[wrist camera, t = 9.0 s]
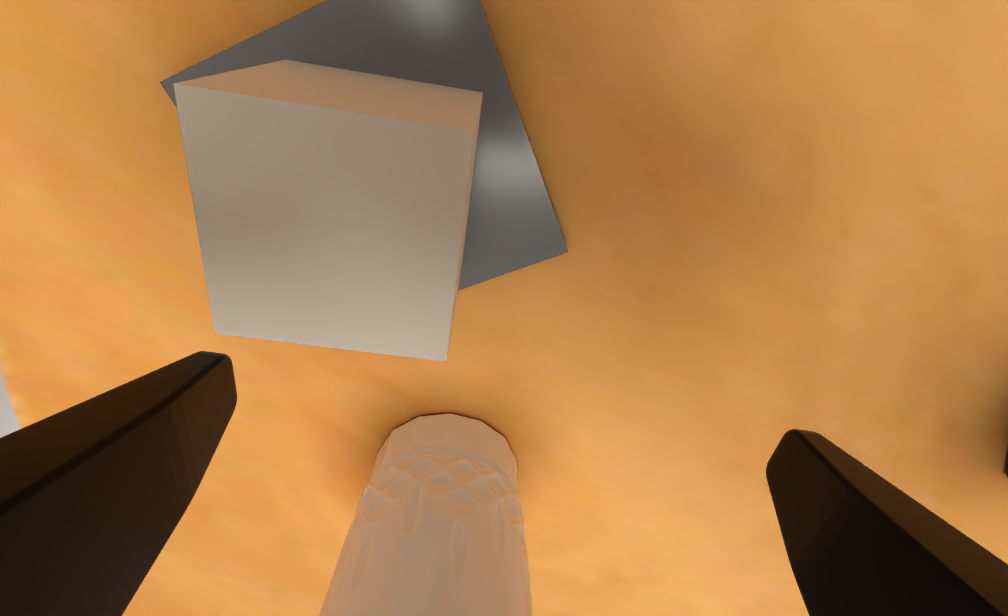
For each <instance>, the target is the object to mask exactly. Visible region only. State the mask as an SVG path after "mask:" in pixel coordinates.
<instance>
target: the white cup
mask: <svg viewBox="0 0 1008 616" xmlns="http://www.w3.org/2000/svg"><path fill="white" fill-rule="evenodd" d="M319 616H533V607H532V596H531V585H530V574H529V563H528V553H527V547H526V542H525V530H524V519H523V513H522V508H521V504H520V500H519V490H518V477H517V465H516V459H515V456H514V455H513V453H512V451H511V449H510V447H509V445H508V443H507V441H506V439H505V437H504V436H502V435H501V434H499V433H498V432H496V431H495V430H494V429H492V428H491V427H489V426H488V425H487V424H485V423H484V422H482V421H480V420H476V419H472V418H467V417H463V416H459V415H455V414H440V415H430V416H420V417H417V418H415V419H413V420H411V421H409V422H407V423H406V424H404V425H402V426H400V427H398V428H396V429H394V430H393V431H392V432H391V434H390V435H389V437H388V438H387V440H386V441H385V443H384V444H383V446H382V447H381V449H380V450H379V453H378V455H377V458H376V461H375V464H374V468H373V471H372V474H371V477H370V480H369V483H368V484H367V486H366V488H365V490H364V492H363V495H362V497H361V499H360V502H359V505H358V507H357V510H356V514H355V517H354V519H353V522H352V524H351V526H350V529H349V531H348V534H347V536H346V539H345V542H344V545H343V547H342V550H341V553H340V556H339V559H338V562H337V565H336V568H335V571H334V573H333V576H332V579H331V582H330V585H329V588H328V591H327V594H326V597H325V600H324V603H323V605H322V608H321V611H320V614H319Z"/></svg>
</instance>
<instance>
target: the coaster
mask: <svg viewBox="0 0 1008 616" xmlns="http://www.w3.org/2000/svg"><path fill="white" fill-rule="evenodd" d="M281 60H292V61H298V62H304V63H310V64H316V65H322V66H328V67H334V68H340V69H346V70H352V71H358V72H364V73H370V74H376V75H382V76H388V77H394V78H400V79H406V80H412V81H418V82H424V83H430V84H436V85H442V86H448V87H454V88H460V89H466V90H472V91H478V92H483V97H482V105H481V113H480V122H479V130H478V138H477V146H476V154H475V162H474V170H473V178H472V186H471V194H470V202H469V211H468V219H467V227H466V235H465V243H464V251H463V259H462V267H461V273H460V279H459V286H458V290H460V289H463V288H466V287H469V286H472V285H475V284H477V283H480V282H483V281H486V280H489V279H492V278H495V277H498V276H500V275H503V274H506V273H509V272H512V271H515V270H518V269H520V268H523V267H526V266H529V265H532V264H535V263H538V262H540V261H543V260H546V259H549V258H552V257H555V256H558V255H560V254H563V253H566V252H568V250H567V246H566V243H565V240H564V237H563V234H562V232H561V229H560V226H559V223H558V220H557V217H556V214H555V212H554V209H553V206H552V203H551V200H550V197H549V195H548V192H547V189H546V186H545V183H544V180H543V177H542V175H541V172H540V169H539V166H538V163H537V160H536V158H535V155H534V152H533V149H532V146H531V143H530V140H529V138H528V135H527V132H526V129H525V126H524V123H523V121H522V118H521V115H520V112H519V109H518V106H517V103H516V101H515V98H514V95H513V92H512V89H511V86H510V84H509V81H508V78H507V75H506V72H505V69H504V66H503V64H502V61H501V58H500V55H499V52H498V49H497V47H496V44H495V41H494V38H493V35H492V32H491V29H490V27H489V24H488V21H487V18H486V15H485V12H484V10H483V7H482V4H481V1H480V0H327V1H325V2H323V3H321V4H319V5H317V6H314V7H312V8H310V9H308V10H306V11H304V12H302V13H300V14H298V15H296V16H294V17H292V18H290V19H288V20H286V21H284V22H282V23H280V24H278V25H276V26H274V27H272V28H270V29H267V30H265V31H263V32H261V33H259V34H257V35H255V36H253V37H251V38H249V39H247V40H245V41H243V42H241V43H239V44H237V45H235V46H233V47H231V48H229V49H227V50H225V51H222V52H220V53H218V54H216V55H214V56H212V57H210V58H208V59H206V60H204V61H202V62H200V63H198V64H196V65H194V66H192V67H190V68H188V69H186V70H184V71H182V72H180V73H177V74H175V75H173V76H171V77H169V78H167V79H165V80H163V81H161V82H160V83H161V85H162V86H163V88H164V89H165V91H166V92H167V94H168V95H169V97H170V98H171V100H172V101H173V103H174V104H175V105H176V107H177V103H176V97H175V91H174V85H173V84H174V83H178V82H183V81H188V80H192V79H197V78H202V77H206V76H211V75H216V74H220V73H225V72H230V71H234V70H239V69H244V68H248V67H253V66H258V65H262V64H267V63H272V62H276V61H281Z"/></svg>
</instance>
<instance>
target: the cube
mask: <svg viewBox="0 0 1008 616" xmlns="http://www.w3.org/2000/svg"><path fill="white" fill-rule="evenodd" d="M173 85H174V91H175V97H176V103H177V109H178V115H179V121H180V127H181V133H182V139H183V145H184V151H185V157H186V163H187V169H188V175H189V181H190V187H191V193H192V199H193V206H194V212H195V218H196V224H197V230H198V236H199V242H200V248H201V254H202V260H203V266H204V272H205V278H206V284H207V290H208V296H209V302H210V308H211V314H212V320H213V326H214V332H215V334H222V335H230V336H239V337H247V338H255V339H263V340H271V341H280V342H288V343H296V344H304V345H313V346H321V347H329V348H337V349H346V350H354V351H362V352H370V353H379V354H387V355H395V356H403V357H411V358H420V359H428V360H436V361H444V362H446V361H447V355H448V348H449V342H450V336H451V330H452V323H453V317H454V311H455V304H456V298H457V292H458V286H459V279H460V273H461V267H462V259H463V251H464V243H465V235H466V227H467V219H468V211H469V202H470V194H471V186H472V178H473V170H474V162H475V154H476V146H477V138H478V130H479V122H480V113H481V105H482V97H483V92H478V91H472V90H466V89H460V88H454V87H448V86H442V85H436V84H430V83H424V82H418V81H412V80H406V79H400V78H394V77H388V76H382V75H376V74H370V73H364V72H358V71H352V70H346V69H340V68H334V67H328V66H322V65H316V64H310V63H304V62H298V61H292V60H281V61H276V62H272V63H267V64H262V65H258V66H253V67H248V68H244V69H239V70H234V71H230V72H225V73H220V74H216V75H211V76H206V77H202V78H197V79H192V80H188V81H183V82H178V83H174V84H173Z"/></svg>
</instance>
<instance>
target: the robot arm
mask: <svg viewBox="0 0 1008 616" xmlns="http://www.w3.org/2000/svg"><path fill="white" fill-rule="evenodd" d="M236 402H237V391H236V385H235V378H234V372H233V365H232V361H231V359H230V357H229V356H228V355H226V354H222V353H214V352H207V351H200V352H197V353H194V354H192V355H190V356H187V357H185V358H183V359H180V360H178V361H176V362H174V363H171V364H169V365H167V366H164V367H162V368H160V369H158V370H155V371H153V372H151V373H148V374H146V375H144V376H141V377H139V378H137V379H135V380H132V381H130V382H128V383H125V384H123V385H121V386H119V387H116V388H114V389H112V390H109V391H107V392H105V393H103V394H100V395H98V396H96V397H93V398H91V399H89V400H86V401H84V402H82V403H80V404H77V405H75V406H73V407H70V408H68V409H66V410H63V411H61V412H59V413H57V414H54V415H52V416H50V417H47V418H45V419H43V420H41V421H38V422H36V423H34V424H31V425H29V426H27V427H24V428H22V429H20V430H18V431H16V432H13V433H11V434H9V435H6V436H4V437H2V438H0V616H122V614H123V613H124V611H125V609H126V608H127V606H128V605H129V603H130V601H131V600H132V598H133V596H134V595H135V593H136V591H137V590H138V588H139V586H140V585H141V583H142V582H143V580H144V578H145V577H146V575H147V573H148V572H149V570H150V568H151V567H152V565H153V563H154V562H155V560H156V559H157V557H158V555H159V554H160V552H161V550H162V549H163V547H164V545H165V544H166V542H167V540H168V539H169V537H170V536H171V534H172V532H173V531H174V529H175V527H176V526H177V524H178V522H179V521H180V519H181V517H182V516H183V514H184V512H185V511H186V509H187V507H188V505H189V504H190V502H191V500H192V499H193V497H194V495H195V493H196V491H197V489H198V487H199V485H200V483H201V480H202V478H203V476H204V474H205V472H206V470H207V468H208V466H209V463H210V461H211V459H212V457H213V455H214V453H215V451H216V448H217V446H218V444H219V442H220V440H221V438H222V436H223V434H224V431H225V429H226V427H227V425H228V423H229V421H230V419H231V416H232V414H233V412H234V410H235V407H236ZM1006 476H1007V478H1008V468H1007V473H1006ZM766 477H767V481H768V485H769V489H770V492H771V496H772V500H773V503H774V507H775V511H776V514H777V518H778V522H779V525H780V529H781V533H782V536H783V540H784V544H785V547H786V551H787V554H788V558H789V561H790V564H791V567H792V570H793V573H794V576H795V579H796V582H797V584H798V587H799V590H800V592H801V595H802V598H803V600H804V603H805V605H806V608H807V611H808V613H809V616H1008V564H1006V563H1005V562H1003V561H1002V560H1001V559H999V558H998V557H996V556H995V555H993V554H992V553H990V552H989V551H988V550H986V549H985V548H983V547H982V546H980V545H979V544H977V543H976V542H975V541H973V540H972V539H970V538H969V537H967V536H966V535H965V534H963V533H962V532H960V531H959V530H957V529H956V528H954V527H953V526H952V525H950V524H949V523H947V522H946V521H944V520H943V519H941V518H940V517H939V516H937V515H936V514H934V513H933V512H931V511H930V510H928V509H927V508H926V507H924V506H923V505H921V504H920V503H918V502H917V501H915V500H914V499H913V498H911V497H910V496H908V495H907V494H905V493H904V492H902V491H901V490H900V489H898V488H897V487H895V486H894V485H892V484H891V483H889V482H888V481H887V480H885V479H884V478H882V477H881V476H879V475H878V474H877V473H875V472H874V471H872V470H871V469H869V468H868V467H866V466H865V465H864V464H862V463H861V462H859V461H858V460H856V459H855V458H853V457H852V456H851V455H849V454H848V453H846V452H845V451H843V450H842V449H840V448H839V447H838V446H836V445H835V444H833V443H832V442H830V441H829V440H827V439H826V438H825V437H823V436H822V435H820V434H818V433H816V432H813V431H806V430H798V429H792V430H789V431H787V432H786V433H785V434H784V436H783V437H782V439H781V441H780V442H779V444H778V446H777V448H776V449H775V451H774V453H773V454H772V456H771V458H770V460H769V461H768V464H767V467H766Z"/></svg>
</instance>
